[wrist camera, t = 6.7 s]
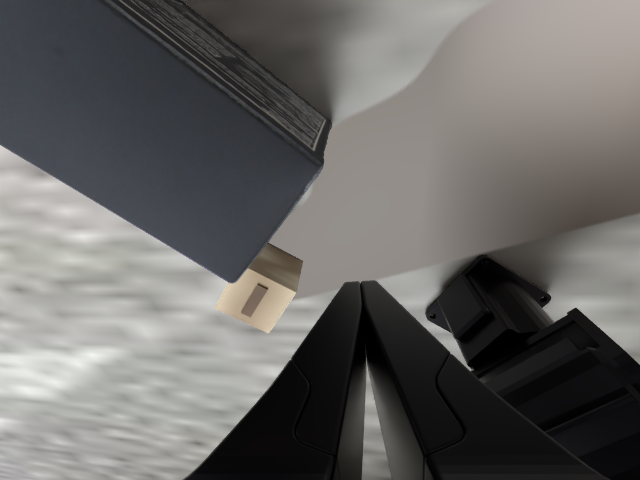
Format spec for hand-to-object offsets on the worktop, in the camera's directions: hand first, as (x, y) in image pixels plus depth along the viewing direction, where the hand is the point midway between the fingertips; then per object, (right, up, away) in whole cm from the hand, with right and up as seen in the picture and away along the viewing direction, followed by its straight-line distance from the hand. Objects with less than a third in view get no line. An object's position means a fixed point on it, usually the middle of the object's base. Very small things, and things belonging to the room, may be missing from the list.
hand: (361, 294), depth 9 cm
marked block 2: (-5, -1, +15) cm, 16 cm away
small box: (-6, +9, +11) cm, 15 cm away
